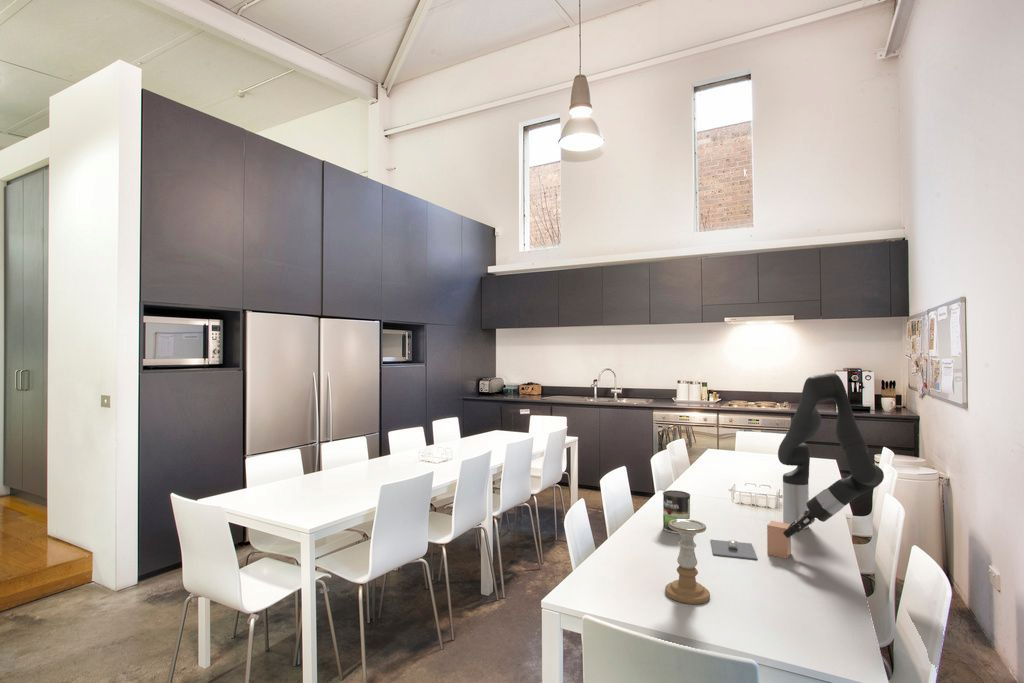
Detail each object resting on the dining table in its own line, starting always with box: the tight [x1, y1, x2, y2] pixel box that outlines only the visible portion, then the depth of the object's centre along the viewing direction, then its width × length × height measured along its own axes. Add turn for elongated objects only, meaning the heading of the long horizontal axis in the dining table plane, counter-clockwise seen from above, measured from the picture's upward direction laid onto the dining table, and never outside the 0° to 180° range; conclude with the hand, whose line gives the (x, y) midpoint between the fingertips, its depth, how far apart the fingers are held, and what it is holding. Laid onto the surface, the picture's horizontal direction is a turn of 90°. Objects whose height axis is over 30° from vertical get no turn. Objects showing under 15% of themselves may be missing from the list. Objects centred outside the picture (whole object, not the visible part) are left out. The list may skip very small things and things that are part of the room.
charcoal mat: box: [710, 539, 759, 561], centre depth 190 cm, size 15×14×1 cm
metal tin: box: [727, 539, 738, 550], centre depth 190 cm, size 3×3×2 cm
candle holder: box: [664, 519, 711, 605], centre depth 155 cm, size 12×12×20 cm
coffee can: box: [662, 489, 691, 535], centre depth 212 cm, size 10×10×14 cm
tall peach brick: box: [766, 520, 792, 559], centre depth 187 cm, size 6×6×10 cm
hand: (788, 532), depth 185 cm, fingers open, 8 cm apart
